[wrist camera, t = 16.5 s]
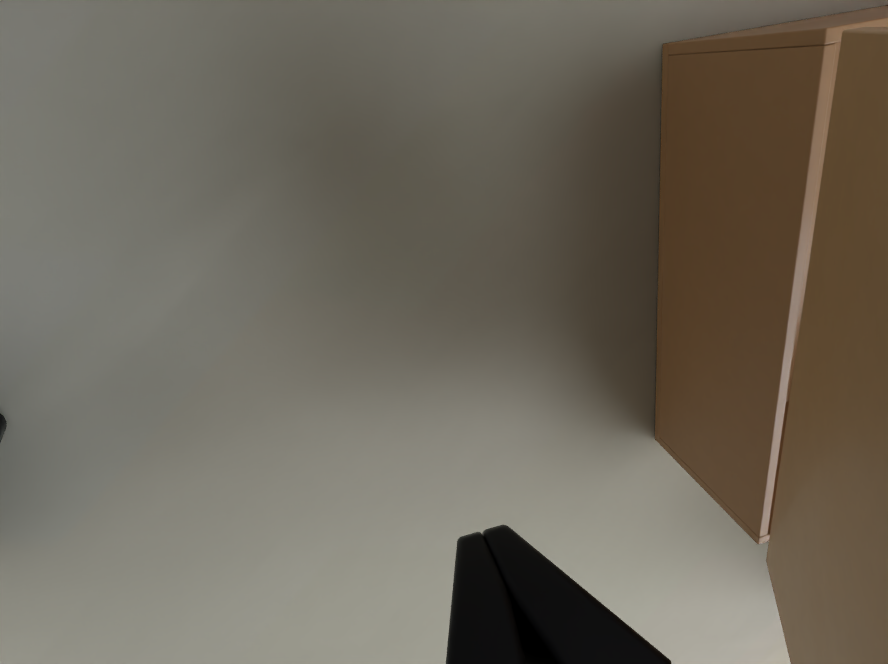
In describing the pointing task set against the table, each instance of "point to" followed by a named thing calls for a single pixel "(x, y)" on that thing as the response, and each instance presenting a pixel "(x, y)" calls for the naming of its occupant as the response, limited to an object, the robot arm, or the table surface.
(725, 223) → the carton
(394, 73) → the table surface
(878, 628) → the flap
